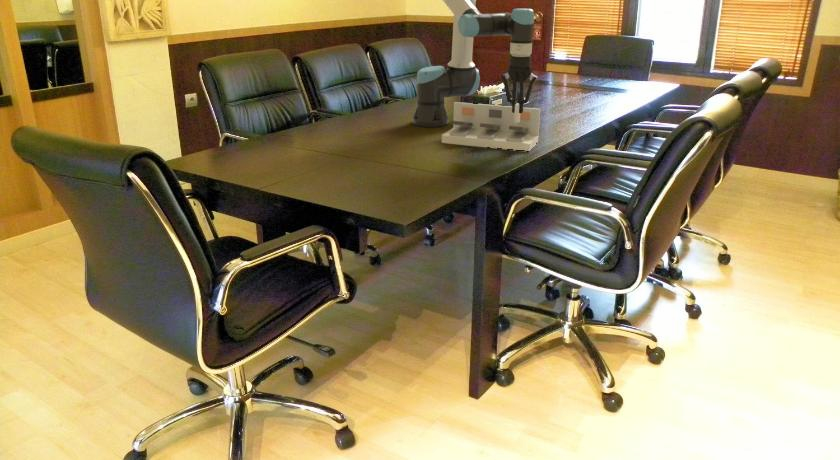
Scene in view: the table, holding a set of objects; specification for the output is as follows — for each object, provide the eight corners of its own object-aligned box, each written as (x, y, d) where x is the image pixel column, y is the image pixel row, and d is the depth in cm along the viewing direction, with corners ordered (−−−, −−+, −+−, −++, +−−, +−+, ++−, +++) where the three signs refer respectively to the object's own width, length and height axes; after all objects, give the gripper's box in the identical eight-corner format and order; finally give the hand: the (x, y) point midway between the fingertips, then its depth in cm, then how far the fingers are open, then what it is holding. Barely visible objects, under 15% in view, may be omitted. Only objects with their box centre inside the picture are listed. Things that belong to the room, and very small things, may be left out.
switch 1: (452, 124, 242) (452, 120, 242) (460, 125, 251) (460, 121, 251) (464, 125, 240) (464, 121, 240) (472, 126, 249) (472, 122, 249)
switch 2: (479, 126, 238) (480, 122, 238) (487, 127, 247) (487, 124, 247) (492, 127, 236) (493, 124, 236) (499, 129, 246) (500, 125, 245)
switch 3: (508, 129, 234) (509, 125, 234) (515, 130, 243) (515, 126, 243) (522, 130, 232) (522, 126, 232) (528, 131, 242) (528, 127, 241)
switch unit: (441, 142, 245) (442, 108, 240) (453, 134, 257) (454, 102, 252) (529, 151, 233) (531, 116, 228) (538, 142, 245) (540, 108, 240)
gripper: (499, 55, 224) (496, 122, 233) (536, 57, 219) (532, 125, 228) (505, 53, 230) (502, 118, 239) (541, 54, 225) (536, 121, 234)
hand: (516, 121), depth 234 cm, fingers closed
